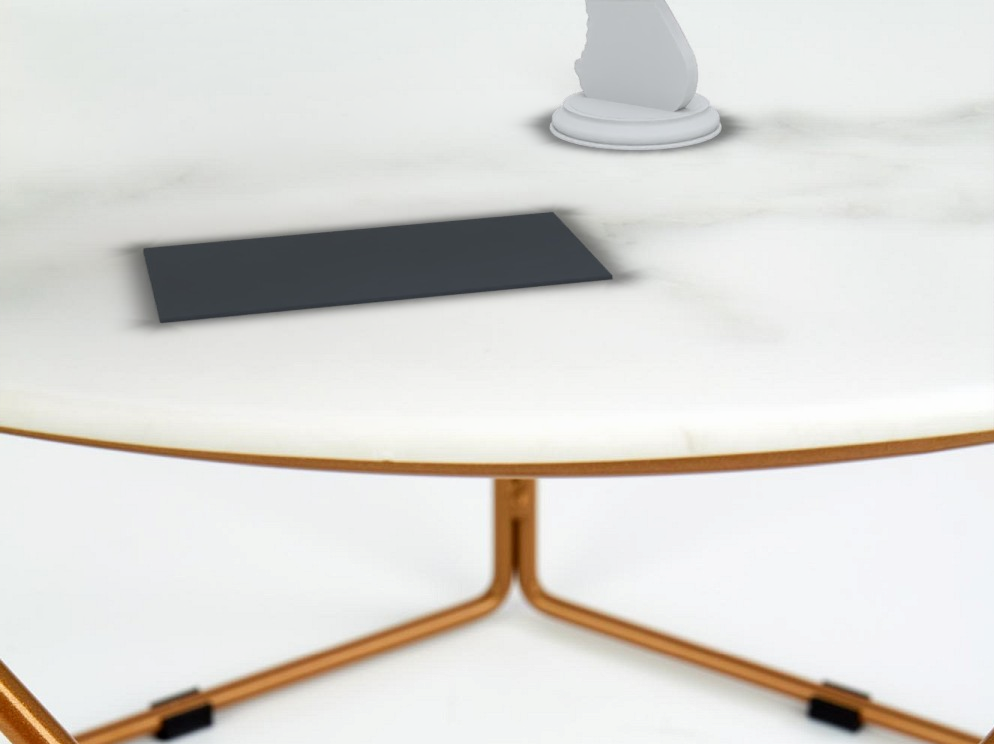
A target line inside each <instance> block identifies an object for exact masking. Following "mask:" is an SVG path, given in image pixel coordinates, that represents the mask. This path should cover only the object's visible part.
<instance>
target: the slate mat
mask: <svg viewBox="0 0 994 744" xmlns="http://www.w3.org/2000/svg"><path fill="white" fill-rule="evenodd" d="M143 255H144V260H145V264H146V268H147V272H148V277H149V280H150V285H151V289H152V294H153V297H154V302H155V305H156V310H157V315H158V318H159V323H161V324H167V323H175V322H187V321H197V320H198V321H199V320H206V319H207V320H208V319H217V318H227V317H228V318H229V317H238V316H247V315H258V314H271V313H279V312H289V311H290V312H291V311H301V310H310V309H320V308H331V307H341V306H352V305H362V304H372V303H373V304H374V303H384V302H393V301H402V300H411V299H412V300H413V299H424V298H434V297H435V298H436V297H444V296H445V297H446V296H453V295H454V296H455V295H464V294H465V295H467V294H475V293H487V292H495V291H506V290H515V289H526V288H527V289H528V288H536V287H546V286H557V285H567V284H568V285H569V284H579V283H587V282H597V281H607V280H608V281H609V280H613V274H612V273H611V272H610V271H609V270H608V269H607V268H606V267H605V265H603V263H601V261H600V260H599V259H598V258H597V257H596V256H595V255H594V254H593V253H592V252H591V251H590V250H589V249H588V248H587V246H586V245H584V243H583V242H582V241H581V240H580V239H579V238H578V237H577V235H575V234H574V233H573V232H572V230H570V228H569V227H568V226H567V225H566V224H565V223H564V222H563V221H562V220H561V218H560V217H558V216H557V214H556V213H555V212H554V211H549V212H547V211H546V212H538V213H537V212H535V213H526V214H525V213H524V214H514V215H504V216H492V217H482V218H481V217H480V218H479V217H478V218H470V219H457V220H447V221H434V222H424V223H412V224H402V225H390V226H389V225H388V226H379V227H378V226H377V227H368V228H367V227H366V228H357V229H356V228H355V229H344V230H334V231H323V232H312V233H300V234H290V235H278V236H277V235H276V236H269V237H268V236H267V237H265V236H264V237H255V238H245V239H233V240H220V241H210V242H198V243H187V244H178V245H177V244H176V245H164V246H154V247H144V248H143Z"/></svg>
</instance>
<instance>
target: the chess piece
mask: <svg viewBox="0 0 994 744" xmlns="http://www.w3.org/2000/svg"><path fill="white" fill-rule="evenodd" d="M584 3H585V13H586V15H587V21H586V33H585V38H586V42H585V44H584V48H583V50H582V51H581V53H580V58H577V59H575V60H574V63H573V64H574V65H573V66H574V67H573V69H574V72H575V74H576V76H577V78H578V81H579V86H580V89H581V91H578V92H575V93H573V94H570V95H568V96H566V97H565V98H564V100H563V101H562V105H560V107H558V108H557V109H556V110H555V111H554V112H553V113H552V115H551V122H550V124H549V131H550V132H551V134H552V135H553V136H555V137H556V138H558V139H560V140H563V141H565V142H568V143H571V144H574V145H575V144H576V145H579V146H584V147H590V148H597V149H606V150H619V151H652V150H654V151H655V150H665V149H675V148H681V147H688V146H692V145H697V144H700V143H704V142H707V141H709V140H712V139H714V138H715V137H716V136H718V135H720V133H721V131H722V127H723V126H722V123H721V121H720V120H721V118H720V117H721V116H720V114H719V112H718V111H717V109H715V108H714V107H713V106H711V105H710V104H711V103H710V100H709V99H708V98H707V97H706V96H704V95H702V94H699V93H697V88H698V83H699V67H698V62H697V58H696V56H695V55H696V54H695V52H694V50H693V48H692V46H691V44H690V41H689V40H688V38H687V36H686V35H685V33H684V30H683V29H682V27H681V25H680V23H679V21H678V20H677V18H676V16H675V14H674V12H673V10H672V9H671V8H670V6H669V4H668V3H667V1H666V0H584Z"/></svg>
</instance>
